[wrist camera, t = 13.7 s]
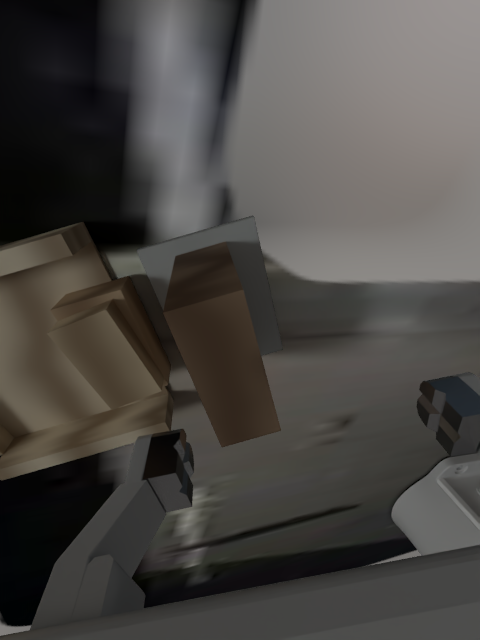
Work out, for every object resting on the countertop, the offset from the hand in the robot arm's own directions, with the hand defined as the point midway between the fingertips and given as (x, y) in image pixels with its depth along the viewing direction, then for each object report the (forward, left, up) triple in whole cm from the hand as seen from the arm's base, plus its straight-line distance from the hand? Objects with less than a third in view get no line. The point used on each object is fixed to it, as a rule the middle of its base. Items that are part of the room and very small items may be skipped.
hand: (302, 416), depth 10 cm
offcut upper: (+10, +1, -11) cm, 15 cm away
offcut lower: (+10, +1, -13) cm, 16 cm away
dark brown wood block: (+2, +1, -13) cm, 13 cm away
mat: (+2, +1, -13) cm, 14 cm away
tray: (+16, +1, -13) cm, 21 cm away
